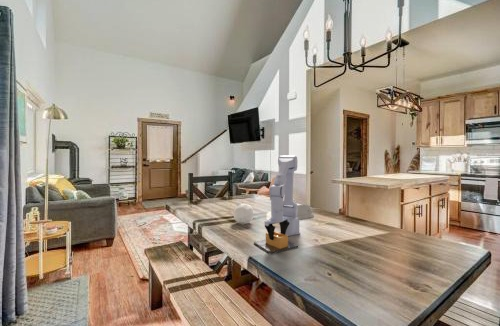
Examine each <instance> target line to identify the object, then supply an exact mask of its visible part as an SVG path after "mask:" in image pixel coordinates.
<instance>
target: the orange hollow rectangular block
mask: <svg viewBox="0 0 500 326" xmlns="http://www.w3.org/2000/svg"><path fill="white" fill-rule="evenodd" d="M278 236H279V237H278ZM265 240H266V243H267V244H270V245H272V246H274V247H277V248H279V249H281V248H284V247H287V246H288V241H289V236H287V235H284V234H281V233H279V231H275V230H274V239H273V240H271V239H269V235H268V232H265Z"/></svg>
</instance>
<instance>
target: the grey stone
mask: <svg viewBox="0 0 500 326" xmlns="http://www.w3.org/2000/svg"><path fill="white" fill-rule="evenodd" d="M297 207H298V215H297V218H298V219H299V220H304V219H311V218H314V217H315V216H314V214H313V213H312V210H311V207H310V205H308V204H297Z"/></svg>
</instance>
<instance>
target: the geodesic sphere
mask: <svg viewBox="0 0 500 326" xmlns="http://www.w3.org/2000/svg"><path fill="white" fill-rule="evenodd" d="M232 215H233V219H234V221H235V222H236V223H237V224H240V225H243V226H244V225H248V224H249V223H250V222H252V221H253V218H254V215H255V213H254V208H253V207H252V206H251V205H250V204H248V203H245V202H242V203H237V204H235V207H234V210H233V214H232Z"/></svg>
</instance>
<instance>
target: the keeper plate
mask: <svg viewBox="0 0 500 326" xmlns="http://www.w3.org/2000/svg"><path fill="white" fill-rule="evenodd" d="M278 237H279V236H278ZM253 245H255V246H257V247H258V248H260V249H261V250H263V251H264V252H265V253H267V254H269V255H272V254H273V255H274V254H278V253H281V252H286V251H290V250H293V249H294V250H295V249H299V245H298V244H296V243H294V242H292V241H290V240H288V246H287V247H284V248H281V249H279V248H277V247H274V246H272V245H270V244H267V243H266V239H262V240H257V241H253Z"/></svg>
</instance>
